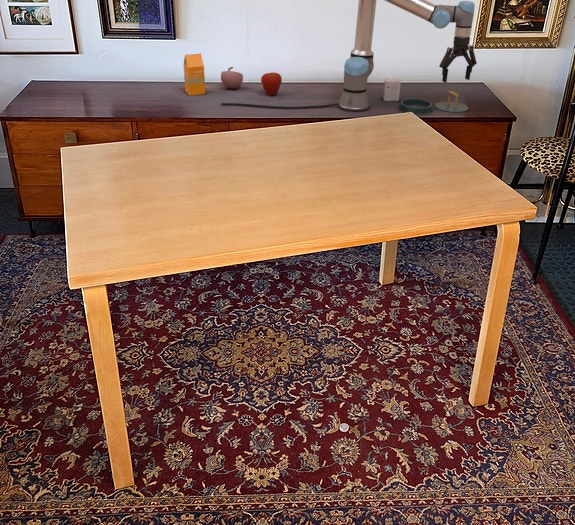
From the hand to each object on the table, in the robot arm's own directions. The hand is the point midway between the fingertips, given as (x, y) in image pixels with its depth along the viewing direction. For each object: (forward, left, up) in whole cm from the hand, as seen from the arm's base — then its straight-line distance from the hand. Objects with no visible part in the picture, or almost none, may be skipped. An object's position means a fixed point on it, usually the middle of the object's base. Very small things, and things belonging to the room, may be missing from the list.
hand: (455, 80), depth 315 cm
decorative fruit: (-94, +70, -14) cm, 118 cm away
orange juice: (-115, +69, -14) cm, 135 cm away
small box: (-22, +23, -14) cm, 35 cm away
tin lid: (0, 0, -14) cm, 14 cm away
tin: (-18, +5, -14) cm, 24 cm away
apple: (-78, +52, -14) cm, 95 cm away
